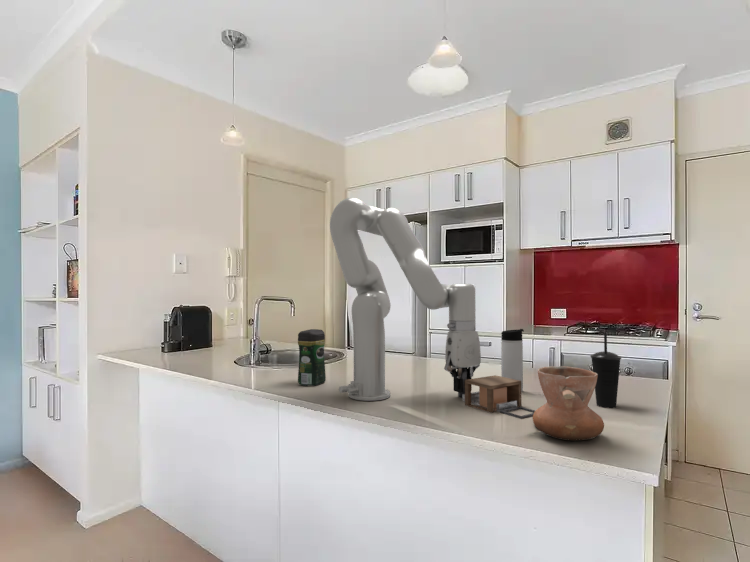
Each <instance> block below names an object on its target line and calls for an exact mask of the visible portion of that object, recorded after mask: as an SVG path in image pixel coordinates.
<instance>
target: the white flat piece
mask: <svg viewBox="0 0 750 562" xmlns="http://www.w3.org/2000/svg"><path fill="white" fill-rule="evenodd" d="M461 378H463V392H462V393H460V392H457V397H458V398H459V399H461V400H462V402H464V403H465V380H467V367H466V368H462V371H461ZM471 405H475V406H478V407H481V408H485V409H487V407H486V406H483V405H480V404H479V391H473V392H472V391H471ZM515 407H518V406H517V401H516V400H512V401H507V402H502V403H497V404H496V408H495V409H493V410H494V411H495V412H499V413H500V411H501V410H506V409H511V408H515Z"/></svg>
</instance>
